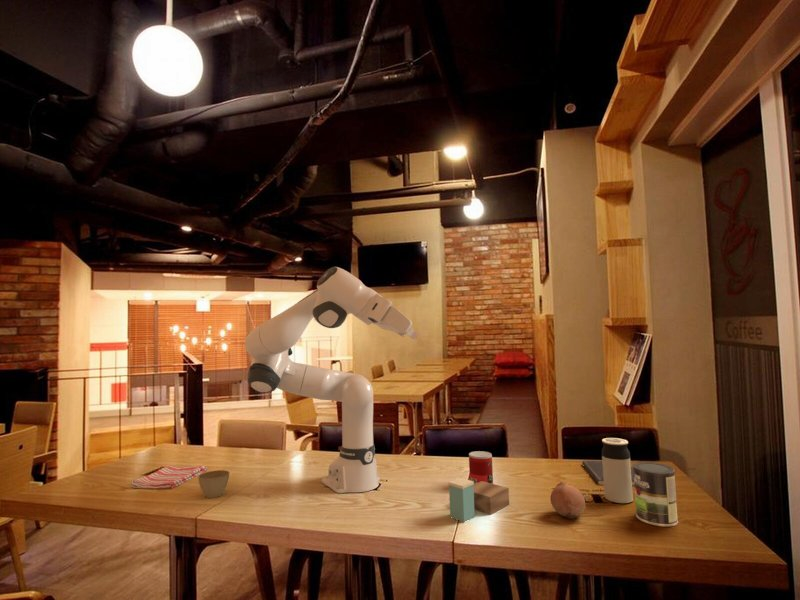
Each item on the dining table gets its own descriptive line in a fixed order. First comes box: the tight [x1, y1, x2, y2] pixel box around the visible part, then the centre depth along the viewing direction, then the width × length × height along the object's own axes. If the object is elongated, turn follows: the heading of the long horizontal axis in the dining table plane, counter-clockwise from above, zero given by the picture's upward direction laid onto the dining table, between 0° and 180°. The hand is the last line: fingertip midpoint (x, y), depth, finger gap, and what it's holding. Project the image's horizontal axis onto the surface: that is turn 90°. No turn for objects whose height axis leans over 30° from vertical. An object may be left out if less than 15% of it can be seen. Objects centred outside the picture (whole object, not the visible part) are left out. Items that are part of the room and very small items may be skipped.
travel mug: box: [601, 437, 634, 504], centre depth 138 cm, size 8×8×18 cm
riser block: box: [473, 481, 510, 516], centre depth 136 cm, size 10×10×5 cm
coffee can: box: [632, 461, 679, 528], centre depth 123 cm, size 10×10×14 cm
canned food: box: [468, 450, 494, 485], centre depth 153 cm, size 8×8×11 cm
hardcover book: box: [581, 460, 635, 487], centre depth 161 cm, size 16×23×2 cm
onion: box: [549, 481, 586, 520], centre depth 127 cm, size 10×9×10 cm
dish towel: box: [130, 465, 208, 490], centre depth 172 cm, size 17×23×4 cm
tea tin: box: [448, 477, 476, 523], centre depth 128 cm, size 5×5×10 cm
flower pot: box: [197, 469, 231, 499], centre depth 152 cm, size 10×10×7 cm
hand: (410, 335), depth 126 cm, fingers open, 8 cm apart
